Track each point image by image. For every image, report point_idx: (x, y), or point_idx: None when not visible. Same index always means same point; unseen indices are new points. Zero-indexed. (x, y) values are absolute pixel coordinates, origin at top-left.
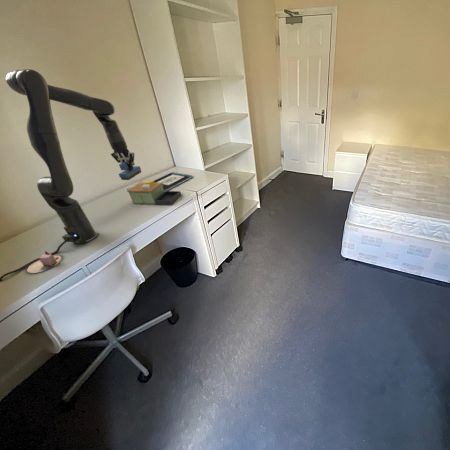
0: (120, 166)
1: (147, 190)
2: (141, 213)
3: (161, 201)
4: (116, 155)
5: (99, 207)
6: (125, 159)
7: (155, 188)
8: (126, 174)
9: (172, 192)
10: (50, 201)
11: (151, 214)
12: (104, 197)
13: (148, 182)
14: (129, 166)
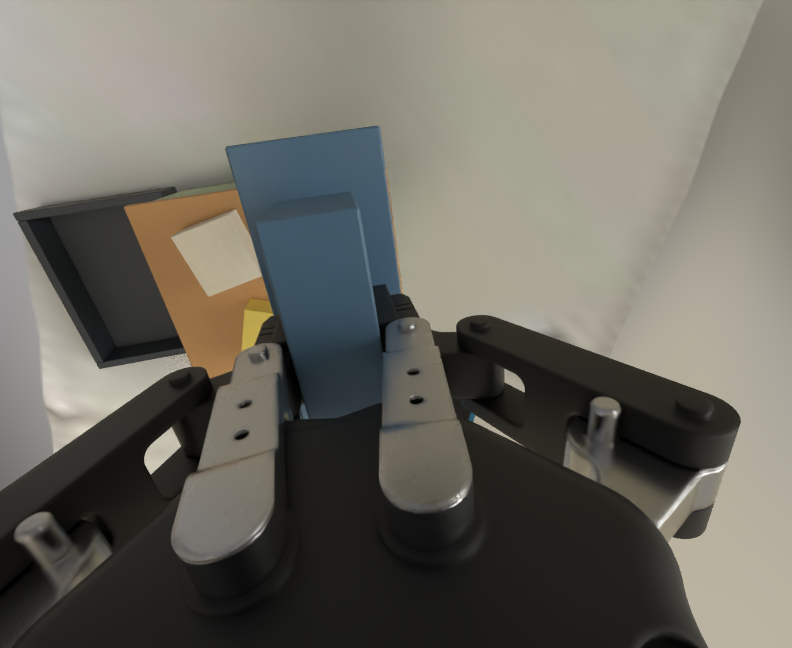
0: (334, 204)
1: (174, 213)
2: (152, 14)
3: (101, 199)
4: (565, 448)
5: (586, 56)
6: (241, 387)
7: (157, 279)
8: (227, 148)
9: (163, 347)
10: None
11: (39, 10)
12: (645, 209)
13: (257, 324)
14: (277, 326)
